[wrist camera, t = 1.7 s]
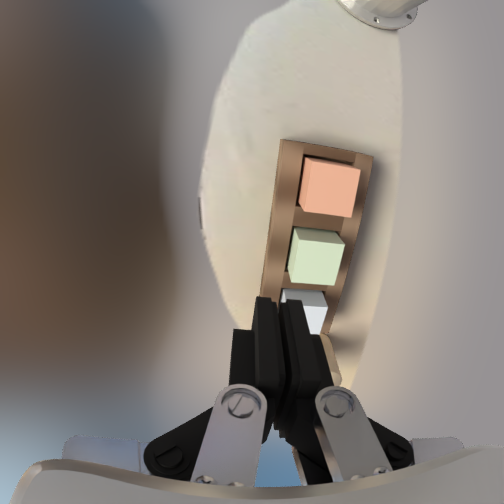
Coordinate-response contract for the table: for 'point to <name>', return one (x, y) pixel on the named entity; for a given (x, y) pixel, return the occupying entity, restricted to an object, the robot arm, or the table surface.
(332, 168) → the terracotta button
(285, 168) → the button panel
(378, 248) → the table surface
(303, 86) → the table surface
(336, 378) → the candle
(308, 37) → the table surface
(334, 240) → the sage button
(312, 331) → the greyblue button
